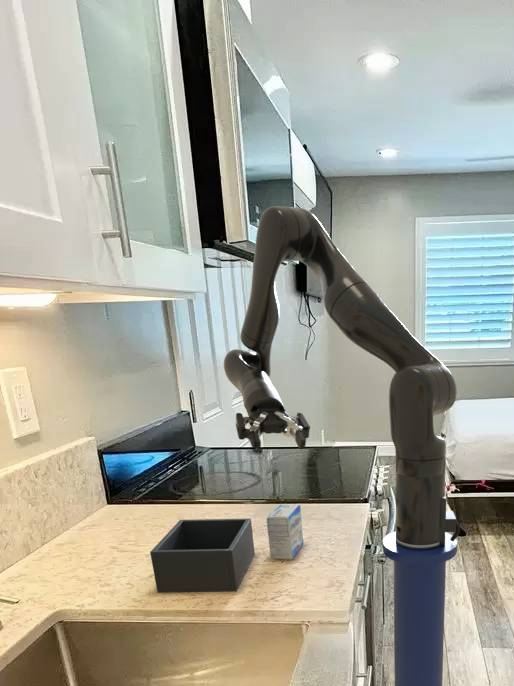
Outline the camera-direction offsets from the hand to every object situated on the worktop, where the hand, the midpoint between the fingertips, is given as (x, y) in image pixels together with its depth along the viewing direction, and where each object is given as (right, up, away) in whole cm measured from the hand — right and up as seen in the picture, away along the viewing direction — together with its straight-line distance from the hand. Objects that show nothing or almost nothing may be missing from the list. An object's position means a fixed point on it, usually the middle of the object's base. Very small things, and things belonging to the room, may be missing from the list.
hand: (280, 446), depth 110 cm
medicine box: (+1, -21, +2) cm, 21 cm away
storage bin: (-12, -24, -6) cm, 28 cm away
